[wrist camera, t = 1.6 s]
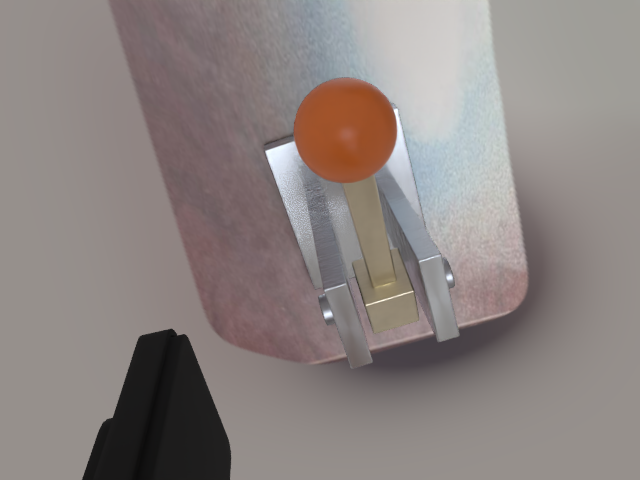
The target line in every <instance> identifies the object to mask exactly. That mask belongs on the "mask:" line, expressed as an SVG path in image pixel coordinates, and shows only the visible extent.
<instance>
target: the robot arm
mask: <svg viewBox="0 0 640 480" xmlns="http://www.w3.org/2000/svg"><path fill="white" fill-rule="evenodd" d="M230 469H231V450H230V444H229V440H228V437H227V435H226V432H225V430H224V427H223V424H222V422H221V419H220V417H219V414H218V412H217V409H216V407H215V404H214V402H213V399H212V397H211V394H210V391H209V389H208V386H207V384H206V382H205V379H204V376H203V374H202V372H201V369H200V366H199V364H198V361H197V359H196V356H195V354H194V351H193V348H192V346H191V343H190V341H189V339H188V337H187V336H186V335H185V334H183V335H178V336H177V334H176V332H175V331H174V330H173V329H168V330H163V331H159V332H155V333H151V334H146V335H142V336H140V337H139V339H138V341H137V344H136V347H135V350H134V354H133V357H132V360H131V363H130V367H129V369H128V372H127V376H126V378H125V382H124V385H123V388H122V391H121V394H120V397H119V400H118V404H117V407H116V410H115V413H114V416H113V418H111V419H107V420H106V421H105V422H103V424H102V426H101V428H100V430H99V432H98V435H97V438H96V441H95V444H94V446H93V449H92V452H91V456H90V458H89V461H88V464H87V467H86V470H85V473H84V476H83V479H82V480H230Z"/></svg>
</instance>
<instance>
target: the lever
mask: <svg viewBox="0 0 640 480" xmlns="http://www.w3.org/2000/svg"><path fill="white" fill-rule="evenodd" d="M397 131H398V128H397V119H396V115H395V112H394V110H393V107H392V105H391V104H390V102H389V100H388V99H387V97H386V96H385V95H384V94H383V93H382V92H381V91H380V90H379V89H378V88H376V87H375V86H373V85H372V84H370V83H368V82H366V81H363V80H360V79H356V78H336V79H332V80H329V81H326V82H324V83H322V84H320V85H319V86H317V87H316V88H314V89H313V90H312V91H311V92H310V93H309V94H308V95H307V96H306V97H305V99H304V100H303V101H302V103H301V105H300V107H299V109H298V111H297V114H296V118H295V122H294V140H295V144H296V148H297V150H298V153H299V155H300V157H301V158H302V160H303V162H304V163H305V164H306V165H307V166H308V168H309V169H310V170H311V171H313V172H314V173H315V174H317V175H318V176H320V177H322V178H324V179H326V180H329V181H332V182H337V183H342V187H343V190H344V194H345V197H346V200H347V204H348V207H349V211H350V214H351V218H352V221H353V225H354V228H355V232H356V235H357V238H358V242H359V245H360V249H361V252H362V256H363V258H362V259H359V260H356V261H353V262H352V267H353V270H354V273H355V277H356V280H357V283H358V286H359V290H360V293H361V296H362V299H363V303H364V306H365V309H366V312H367V315H368V318H369V321H370V324H371V327H372V330H373V333H374V334H377V333H380V332H383V331H387V330H390V329H393V328H396V327H400V326H403V325H406V324H410V323H413V322H416V321H419V314H418V309H417V303H416V297H415V291H414V288H413V285H412V283H411V280H410V277H409V275H408V272H407V269H406V267H405V264H404V262H403V259H402V256H401V254H400V251H399V249H398V248H394V249H391V250H390V245H389V241H388V236H387V231H386V227H385V222H384V217H383V213H382V208H381V203H380V198H379V194H378V189H377V184H376V180H375V175H374V174H375V173H377V172H378V171H379V170H380V169H381V168H382V167H383V166H384V165H385V164H386V163H387V161H388V160H389V158H390V157H391V155H392V153H393V150H394V148H395V144H396V140H397Z"/></svg>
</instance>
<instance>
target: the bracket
mask: <svg viewBox="0 0 640 480" xmlns="http://www.w3.org/2000/svg"><path fill="white" fill-rule="evenodd" d="M391 105H392V107H393V110H394V112H395V115H396V119H397V128H398V131H397V140H396V144H395V148H394V150H393V153H392V155H391V157H390V158H389V160H388V161H387V163H386V164H385V165H384V166H383V167H382V168H381V169H380V170H379V171H378V172H377V173H375V174H374V175H375V180H376V184H377V189H378V194H379V198H380V203H381V208H382V213H383V217H384V222H385V227H386V231H387V236H388V241H389V245H390V250H391V249H394V248H398V249H399V251H400V254H401V256H402V259H403V262H404V264H405V267H406V269H407V272H408V275H409V277H410V280H411V283H412V285H413V288H414V291H415V294H416V296H417V298H418V300H419V302H420V304H421V307H422V309H423V311H424V313H425V315H426V317H427V319H428V322H429V324H430V326H431V328H432V330H433V332H434V335H435V337H436V339H437V341H438V342H441V341H444V340H448V339H451V338H455V337H458V336H459V331H458V326H457V322H456V317H455V313H454V308H453V304H452V299H451V295H450V291H449V288H453V287H454V286H455V282H454V277H453V273H452V270H451V268H450V265H449V263H448V261H447V259H446V258H442V255H441V253H440V251H439V250H438V248H437V246H436V245H435V243H434V242H433V240H432V238H431V237H430V235H429V233H428V232H427V230H426V226H425V222H424V217H423V213H422V209H421V204H420V200H419V196H418V192H417V187H416V183H415V179H414V175H413V170H412V166H411V162H410V157H409V153H408V149H407V145H406V140H405V136H404V132H403V127H402V123H401V119H400V115H399V110H398V108H397V107H396V105H395V104H394V103H392V104H391ZM264 152H265V155H266V158H267V160H268V163H269V166H270V169H271V171H272V174H273V177H274V180H275V182H276V185H277V188H278V190H279V193H280V196H281V199H282V201H283V204H284V207H285V210H286V212H287V215H288V218H289V221H290V223H291V226H292V229H293V232H294V234H295V237H296V240H297V243H298V245H299V248H300V251H301V253H302V256H303V259H304V262H305V264H306V267H307V270H308V273H309V275H310V278H311V281H312V284H313V286H314V289H315V290H316V289H319V288H322V287H323V290H324V293H325V294H324V295H321V296H319V297H318V299H319V304H320V308H321V311H322V314H323V317H324V320H325V323H326V324H327V325H332V324H336V327H337V329H338V332H339V335H340V338H341V341H342V343H343V346H344V349H345V352H346V355H347V357H348V360H349V363H350V366H351V368H356V367H359V366H362V365H365V364H369V363H372V362H373V361H372V357H371V354H370V350H369V346H368V343H367V339H366V336H365V332H364V329H363V325H362V321H361V318H360V314H359V311H358V307H357V304H356V300H355V296H354V293H353V289H352V286H351V282H350V279H351V278H355V273H354V270H353V267H352V262H353V261H356V260H359V259H362V258H363V256H362V252H361V249H360V245H359V242H358V238H357V235H356V232H355V228H354V225H353V221H352V218H351V214H350V211H349V207H348V204H347V200H346V197H345V194H344V190H343V187H342V183H337V182H332V181H329V180H326V179H324V178H322V177H320V176H318V175H317V174H315V173H314V172H313V171H311V170H310V169H309V168H308V166H307V165H306V164H305V163H304V162H303V160H302V158H301V157H300V155H299V153H298V150H297V148H296V144H295V140H294V135H293V136H290V137H287V138H284V139H281V140H278V141H275V142H271V143H268V144H265V145H264Z"/></svg>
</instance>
